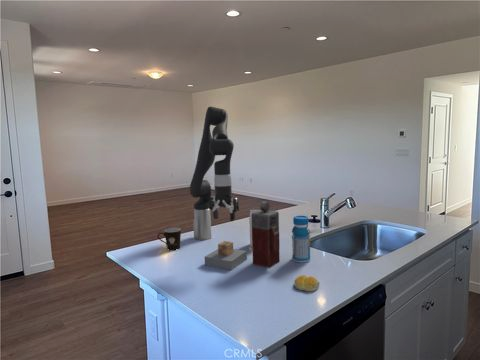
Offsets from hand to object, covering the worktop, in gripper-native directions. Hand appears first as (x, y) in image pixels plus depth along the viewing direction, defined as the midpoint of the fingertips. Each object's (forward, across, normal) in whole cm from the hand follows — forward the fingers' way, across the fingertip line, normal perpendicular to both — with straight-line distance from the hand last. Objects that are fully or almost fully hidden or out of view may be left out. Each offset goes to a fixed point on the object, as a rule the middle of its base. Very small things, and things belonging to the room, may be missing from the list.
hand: (224, 219), depth 148 cm
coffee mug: (+20, -37, +5) cm, 42 cm away
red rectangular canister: (+20, +18, +7) cm, 28 cm away
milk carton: (+20, +3, +27) cm, 34 cm away
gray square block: (+20, 0, 0) cm, 20 cm away
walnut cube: (+16, 0, 0) cm, 16 cm away
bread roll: (+20, +41, -8) cm, 46 cm away
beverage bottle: (+20, +30, +17) cm, 40 cm away
